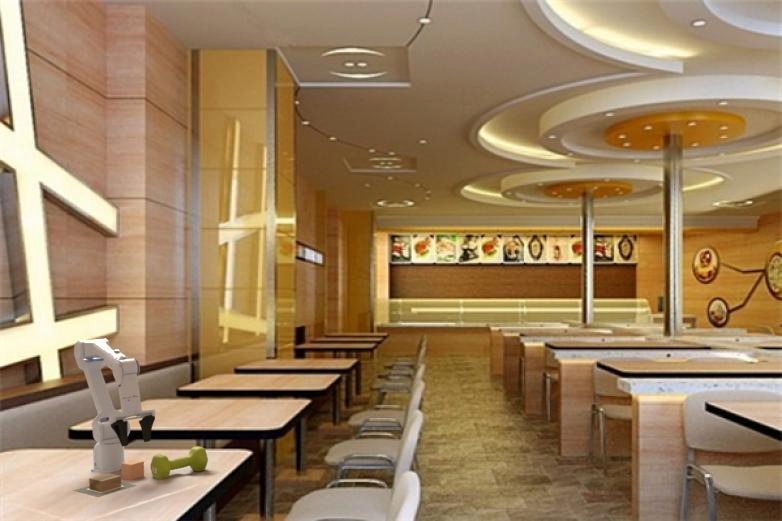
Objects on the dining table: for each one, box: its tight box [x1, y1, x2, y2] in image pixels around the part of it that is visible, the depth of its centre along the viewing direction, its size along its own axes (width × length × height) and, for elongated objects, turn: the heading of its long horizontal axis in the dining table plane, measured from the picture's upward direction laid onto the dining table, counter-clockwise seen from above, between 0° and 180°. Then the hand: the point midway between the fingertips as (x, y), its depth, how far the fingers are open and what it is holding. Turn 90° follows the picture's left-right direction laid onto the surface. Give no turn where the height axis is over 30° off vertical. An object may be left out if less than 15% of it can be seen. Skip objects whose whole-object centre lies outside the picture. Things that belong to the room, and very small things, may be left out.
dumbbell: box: [149, 445, 209, 480], centre depth 207 cm, size 16×8×7 cm, turn 135°
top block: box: [121, 459, 145, 480], centre depth 203 cm, size 4×4×5 cm
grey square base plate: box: [73, 481, 138, 498], centre depth 192 cm, size 12×12×1 cm
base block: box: [88, 472, 122, 492], centre depth 193 cm, size 6×6×3 cm
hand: (136, 443), depth 203 cm, fingers open, 7 cm apart
